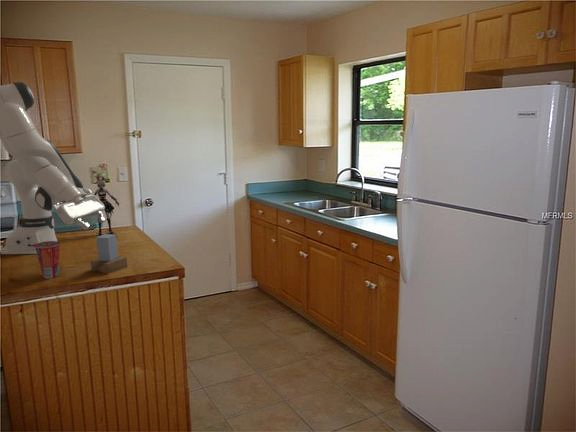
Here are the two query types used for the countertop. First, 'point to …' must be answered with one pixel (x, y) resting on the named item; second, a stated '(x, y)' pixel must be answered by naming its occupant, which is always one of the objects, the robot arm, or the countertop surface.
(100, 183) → the figurine
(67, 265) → the countertop surface
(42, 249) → the cup
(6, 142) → the robot arm
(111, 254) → the blue block
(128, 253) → the countertop surface
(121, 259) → the walnut block
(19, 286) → the countertop surface
